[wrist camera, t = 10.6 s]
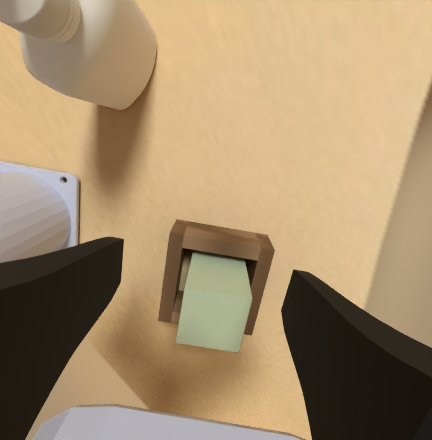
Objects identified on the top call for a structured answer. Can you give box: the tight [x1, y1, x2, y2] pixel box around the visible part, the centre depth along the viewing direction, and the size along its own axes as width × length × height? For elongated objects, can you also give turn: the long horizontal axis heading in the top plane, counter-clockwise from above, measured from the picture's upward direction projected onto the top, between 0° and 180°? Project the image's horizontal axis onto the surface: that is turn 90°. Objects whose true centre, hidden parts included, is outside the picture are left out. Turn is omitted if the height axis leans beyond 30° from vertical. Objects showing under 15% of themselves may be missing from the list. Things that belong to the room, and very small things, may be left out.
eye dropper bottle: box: [0, 0, 157, 110], centre depth 12 cm, size 4×6×12 cm
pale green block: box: [176, 250, 252, 353], centre depth 19 cm, size 4×4×7 cm
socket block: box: [158, 220, 275, 335], centre depth 21 cm, size 8×8×3 cm
